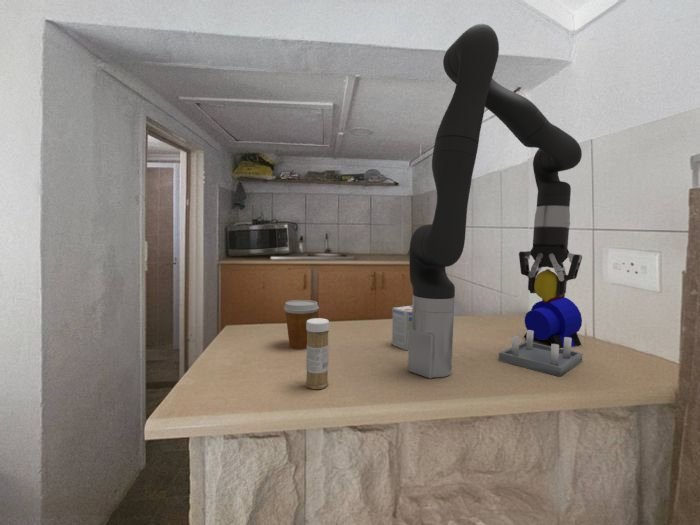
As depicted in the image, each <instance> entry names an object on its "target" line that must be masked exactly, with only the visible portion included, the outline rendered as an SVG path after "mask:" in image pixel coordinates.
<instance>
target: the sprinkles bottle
mask: <svg viewBox="0 0 700 525" xmlns="http://www.w3.org/2000/svg"><path fill="white" fill-rule="evenodd" d="M306 330H307V349H306V358H305V359H306V361H305V363H306V364H305V366H306V368H305V370H306V382H305V385H306V387H307V388H309V389H312V390H323V389H325V388H326V387H327V386H328V385H329V381H328V377H329V376H328V374H329V373H328V372H329V371H328V370H329V331H330V321H329V319H327V318H321V317H318V318H317V317H316V318H314V319H309V320H307V322H306Z"/></svg>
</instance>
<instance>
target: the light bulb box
mask: <svg viewBox="0 0 700 525" xmlns="http://www.w3.org/2000/svg"><path fill="white" fill-rule="evenodd" d="M391 327H392V328H391V329H392V334H391V344H392V345H393V346H395V347H398V348H400V349H402V350H405V351H409V330H411V329H412V305H407V306H406V305H404V306H398V307H392V326H391Z"/></svg>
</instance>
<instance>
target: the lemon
mask: <svg viewBox="0 0 700 525" xmlns="http://www.w3.org/2000/svg"><path fill="white" fill-rule="evenodd" d="M558 281H559V278H558V276H557V273H556V272H555V271H552V270H551V268H550V269H549V268H547V269H545V270H541V271H539V273H538V275H537V277H536V279H535V283H534V289H535V292H536V293H535V294H536V295H537V296H538V297H539V298H541V300H542V299H543V300H544V301H548V300H549V299H551V298H554V297H555V296H556V295H557V283H558Z"/></svg>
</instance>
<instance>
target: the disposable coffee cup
mask: <svg viewBox="0 0 700 525" xmlns="http://www.w3.org/2000/svg"><path fill="white" fill-rule="evenodd" d="M319 309H320V307H319V305H318V302H317V301H315V300H308V299H293V300H288V301H286V302H285V304H284V306H283V310H284V312H285V318H286V328H287V334H288V336H287V337H288V345H289V348H291V349H295V350H307V330H306V322H307V320H309V319H314V318H317V315H318V311H319Z"/></svg>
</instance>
